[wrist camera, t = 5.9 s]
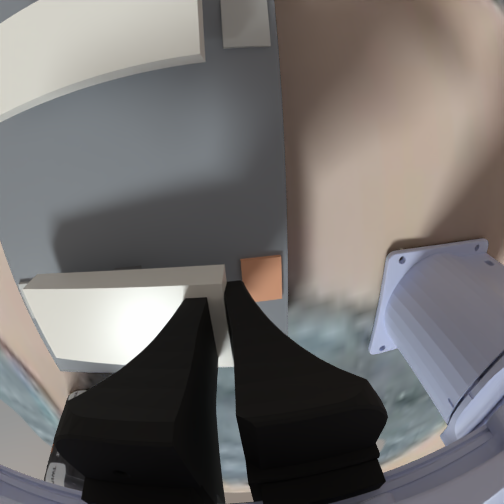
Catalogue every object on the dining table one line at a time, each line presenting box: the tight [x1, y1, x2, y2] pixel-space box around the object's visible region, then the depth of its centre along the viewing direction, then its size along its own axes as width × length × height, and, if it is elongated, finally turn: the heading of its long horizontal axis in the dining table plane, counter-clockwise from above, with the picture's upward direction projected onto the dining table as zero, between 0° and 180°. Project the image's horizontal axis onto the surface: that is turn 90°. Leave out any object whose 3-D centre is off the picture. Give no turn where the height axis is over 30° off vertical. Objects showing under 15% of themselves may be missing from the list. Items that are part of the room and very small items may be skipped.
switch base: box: [0, 0, 288, 373], centre depth 11 cm, size 13×20×4 cm, turn 4°
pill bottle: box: [44, 390, 87, 491], centre depth 15 cm, size 6×6×11 cm
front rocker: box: [0, 0, 206, 122], centre depth 6 cm, size 8×4×1 cm, turn 94°
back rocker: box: [22, 264, 234, 367], centre depth 10 cm, size 8×4×1 cm, turn 94°
